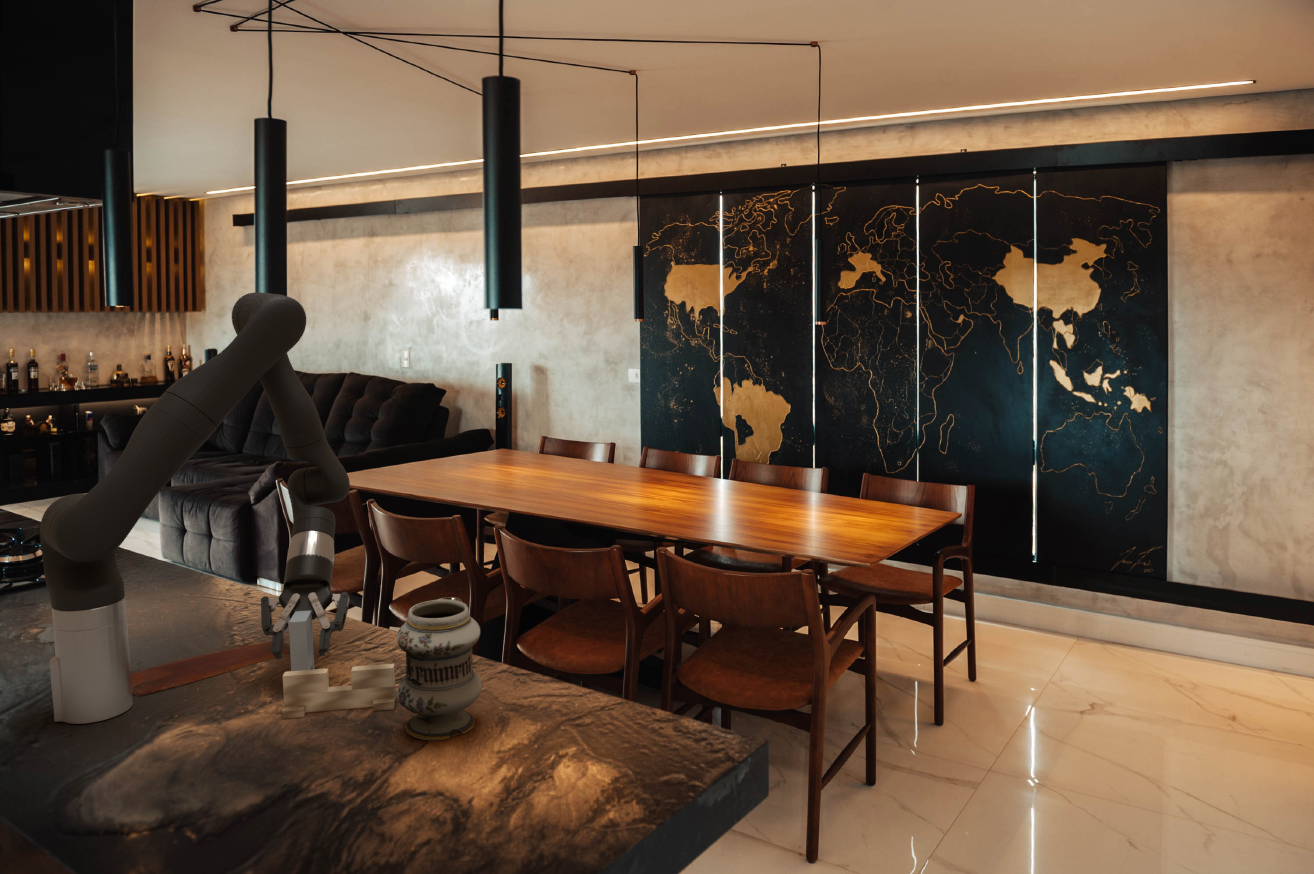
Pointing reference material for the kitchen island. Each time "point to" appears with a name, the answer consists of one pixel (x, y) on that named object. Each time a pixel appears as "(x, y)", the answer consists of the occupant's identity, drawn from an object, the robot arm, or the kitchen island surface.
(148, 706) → the kitchen island surface
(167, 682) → the wooden tablet
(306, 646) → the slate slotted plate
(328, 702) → the birch slotted board
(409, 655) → the apothecary jar
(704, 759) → the kitchen island surface
